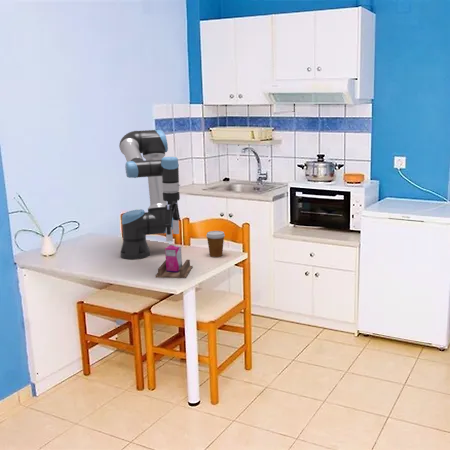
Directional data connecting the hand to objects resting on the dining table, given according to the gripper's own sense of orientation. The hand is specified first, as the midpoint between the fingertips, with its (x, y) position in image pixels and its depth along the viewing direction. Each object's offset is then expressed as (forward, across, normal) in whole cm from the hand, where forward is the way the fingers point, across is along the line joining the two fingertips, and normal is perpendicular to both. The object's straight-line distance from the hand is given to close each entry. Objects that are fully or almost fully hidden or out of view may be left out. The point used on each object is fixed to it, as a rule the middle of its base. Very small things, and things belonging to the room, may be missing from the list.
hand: (172, 237), depth 258 cm
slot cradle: (+17, 0, 0) cm, 17 cm away
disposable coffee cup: (+17, +30, -15) cm, 37 cm away
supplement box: (+16, 0, 0) cm, 16 cm away
